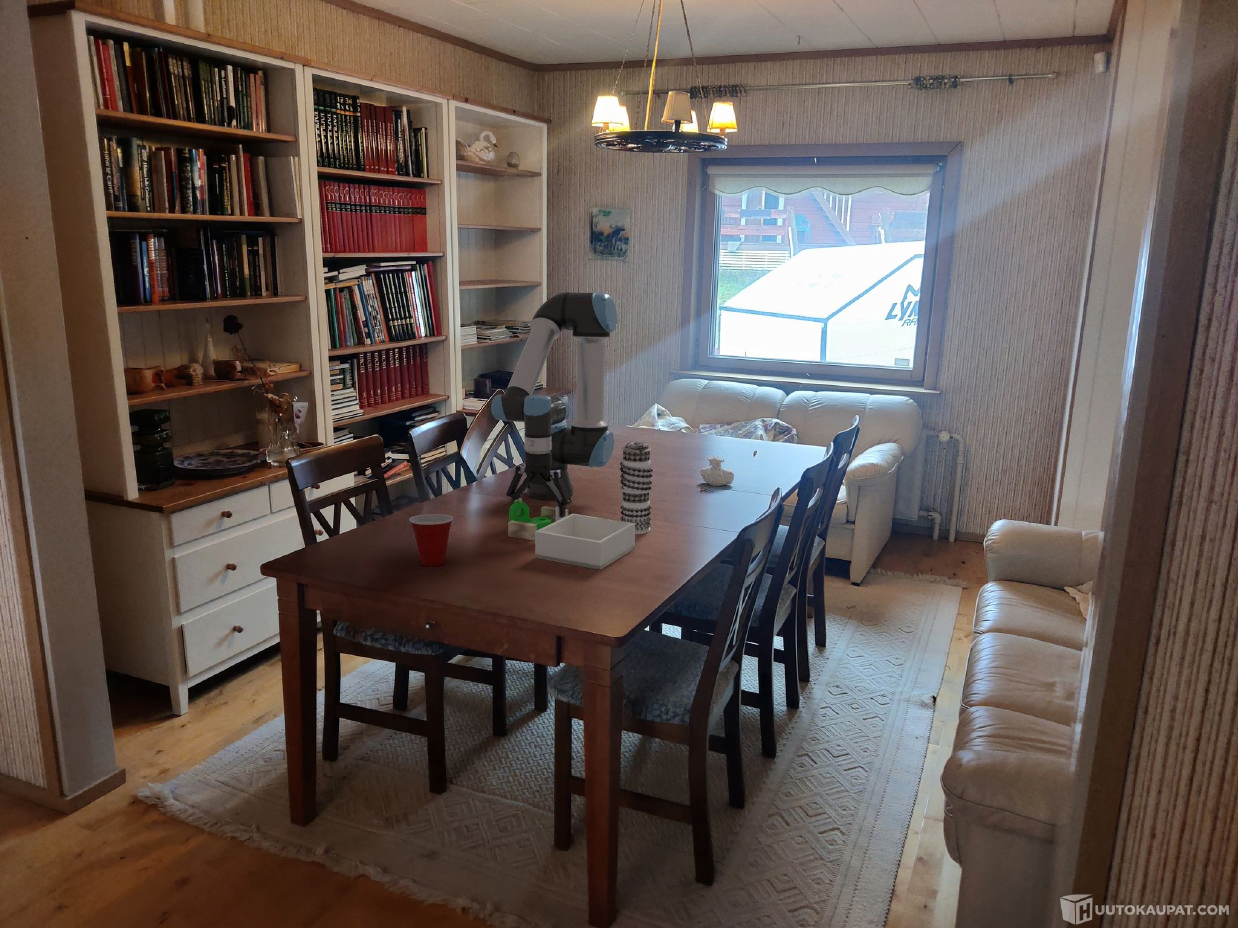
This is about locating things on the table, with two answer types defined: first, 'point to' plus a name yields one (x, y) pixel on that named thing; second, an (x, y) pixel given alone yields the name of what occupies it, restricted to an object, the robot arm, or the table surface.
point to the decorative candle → (636, 485)
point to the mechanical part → (527, 515)
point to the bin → (585, 541)
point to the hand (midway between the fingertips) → (538, 524)
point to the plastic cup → (432, 537)
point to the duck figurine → (717, 473)
